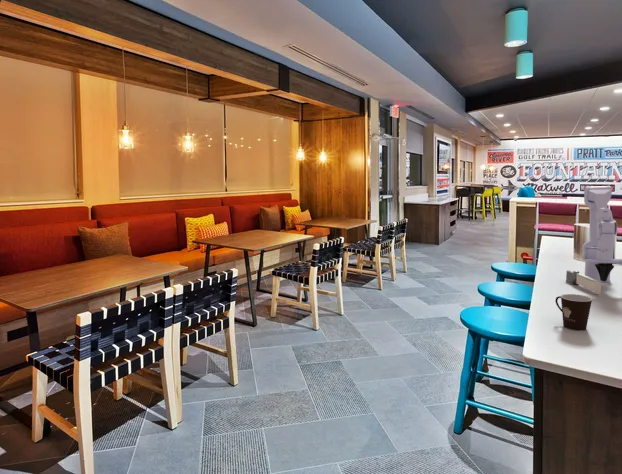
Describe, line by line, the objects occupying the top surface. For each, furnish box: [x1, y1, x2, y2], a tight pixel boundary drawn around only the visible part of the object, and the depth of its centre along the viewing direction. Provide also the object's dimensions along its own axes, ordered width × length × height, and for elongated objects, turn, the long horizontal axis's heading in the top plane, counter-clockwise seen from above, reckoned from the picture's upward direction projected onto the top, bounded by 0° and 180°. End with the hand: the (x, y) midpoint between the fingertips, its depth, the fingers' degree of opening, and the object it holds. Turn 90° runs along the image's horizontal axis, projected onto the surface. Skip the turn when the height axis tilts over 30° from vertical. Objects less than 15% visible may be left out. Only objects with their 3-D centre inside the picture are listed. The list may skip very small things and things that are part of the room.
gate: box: [576, 272, 602, 295], centre depth 179 cm, size 16×2×5 cm, turn 174°
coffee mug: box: [555, 293, 593, 332], centre depth 138 cm, size 12×9×10 cm
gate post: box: [565, 270, 580, 286], centre depth 191 cm, size 8×2×6 cm, turn 174°
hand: (603, 280), depth 178 cm, fingers closed
